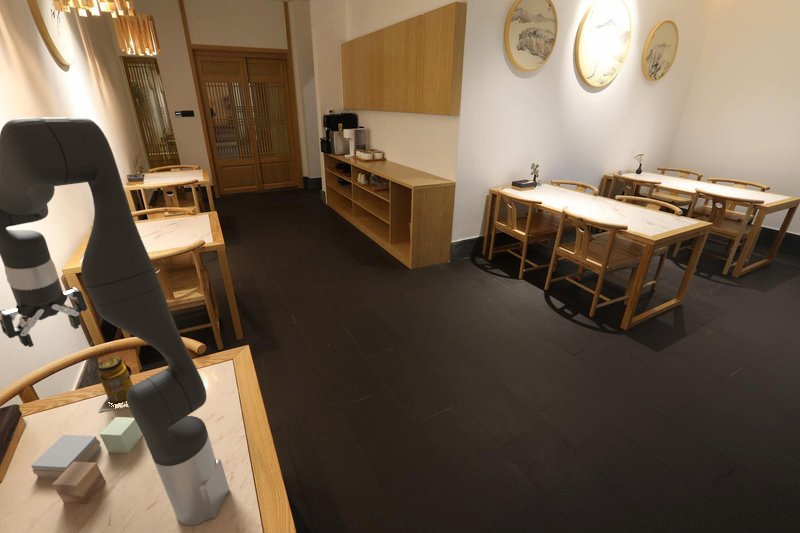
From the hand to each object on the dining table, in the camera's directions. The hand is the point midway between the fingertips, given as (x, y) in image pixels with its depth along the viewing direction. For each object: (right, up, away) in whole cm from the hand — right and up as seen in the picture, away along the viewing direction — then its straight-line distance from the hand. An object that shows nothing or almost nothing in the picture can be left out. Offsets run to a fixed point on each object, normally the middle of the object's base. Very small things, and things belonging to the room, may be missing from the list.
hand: (53, 335), depth 86 cm
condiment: (+3, -21, +16) cm, 27 cm away
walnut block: (+14, -32, -8) cm, 36 cm away
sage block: (+15, -27, +3) cm, 31 cm away
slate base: (+5, -29, -1) cm, 30 cm away
